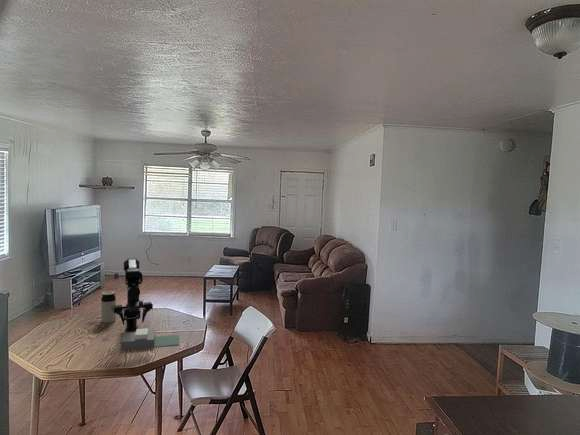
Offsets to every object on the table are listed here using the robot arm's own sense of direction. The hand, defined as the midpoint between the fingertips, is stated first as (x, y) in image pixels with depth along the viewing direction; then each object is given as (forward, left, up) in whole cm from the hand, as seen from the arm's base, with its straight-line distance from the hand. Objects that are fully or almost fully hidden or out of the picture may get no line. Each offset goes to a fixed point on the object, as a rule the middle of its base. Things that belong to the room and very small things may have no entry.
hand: (133, 323), depth 198 cm
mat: (-2, +17, -12) cm, 21 cm away
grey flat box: (-2, +2, -12) cm, 12 cm away
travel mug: (-44, -19, -12) cm, 49 cm away
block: (-2, +4, -8) cm, 9 cm away
